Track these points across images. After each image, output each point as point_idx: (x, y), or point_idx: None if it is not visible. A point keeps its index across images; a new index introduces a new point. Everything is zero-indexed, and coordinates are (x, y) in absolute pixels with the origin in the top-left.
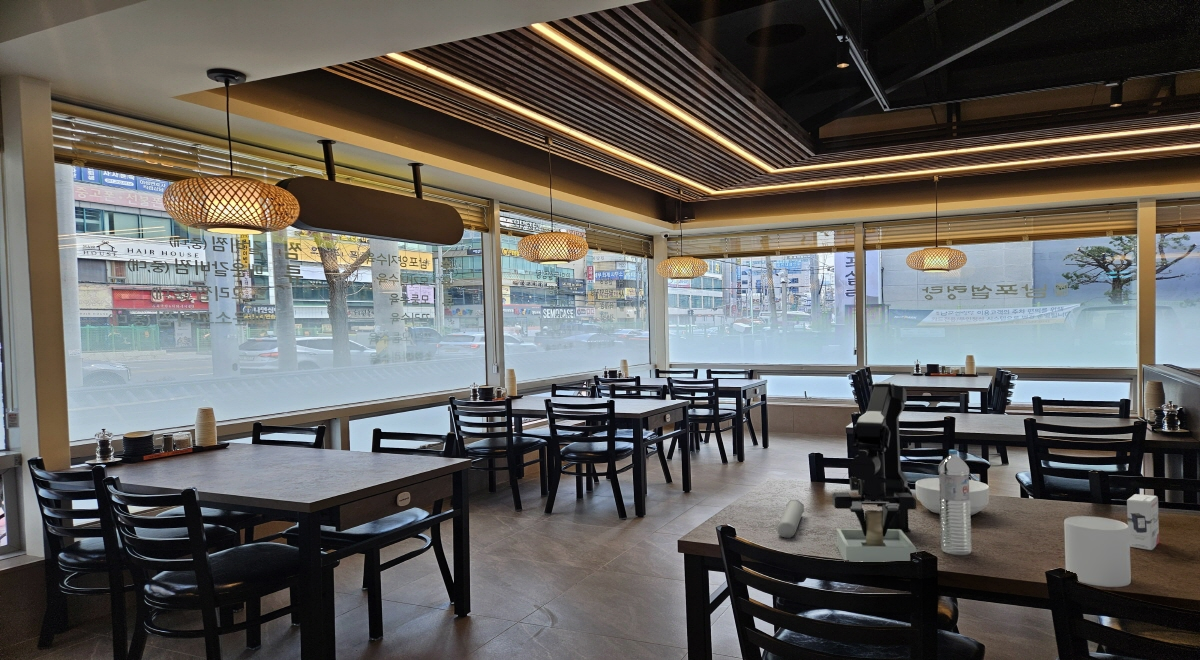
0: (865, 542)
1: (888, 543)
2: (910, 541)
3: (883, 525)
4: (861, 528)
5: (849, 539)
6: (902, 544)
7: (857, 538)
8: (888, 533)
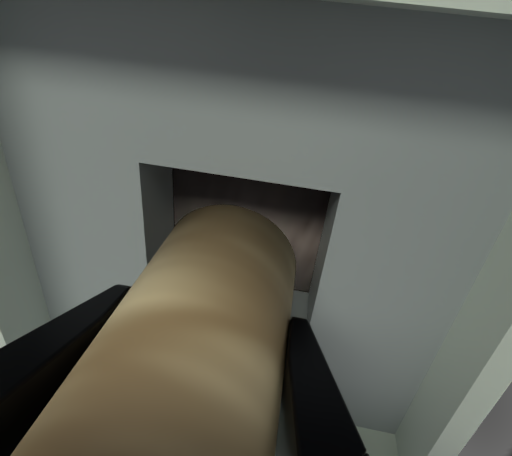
0: (179, 166)
1: (369, 216)
2: (477, 425)
3: (281, 450)
4: (62, 315)
5: (44, 59)
6: (479, 256)
7: (119, 23)
8: (505, 15)
